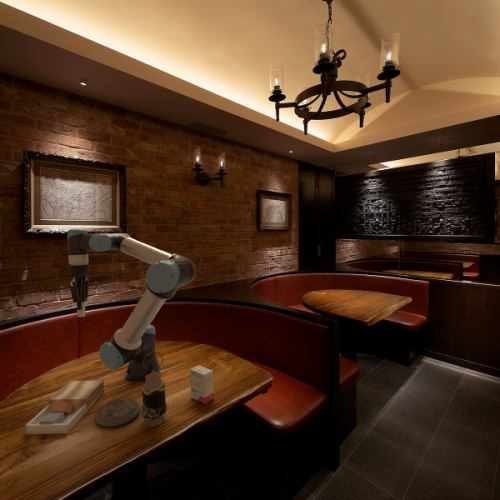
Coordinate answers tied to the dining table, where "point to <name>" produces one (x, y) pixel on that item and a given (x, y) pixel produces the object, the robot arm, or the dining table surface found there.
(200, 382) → the ink box
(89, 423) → the dining table surface
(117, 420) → the flying saucer
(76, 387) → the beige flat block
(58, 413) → the slate gray square block
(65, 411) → the salmon orange square block
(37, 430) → the tray
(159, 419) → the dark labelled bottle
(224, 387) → the dining table surface
